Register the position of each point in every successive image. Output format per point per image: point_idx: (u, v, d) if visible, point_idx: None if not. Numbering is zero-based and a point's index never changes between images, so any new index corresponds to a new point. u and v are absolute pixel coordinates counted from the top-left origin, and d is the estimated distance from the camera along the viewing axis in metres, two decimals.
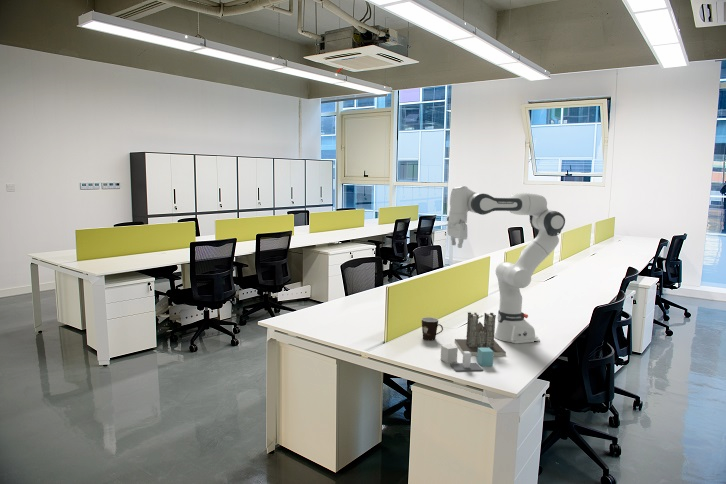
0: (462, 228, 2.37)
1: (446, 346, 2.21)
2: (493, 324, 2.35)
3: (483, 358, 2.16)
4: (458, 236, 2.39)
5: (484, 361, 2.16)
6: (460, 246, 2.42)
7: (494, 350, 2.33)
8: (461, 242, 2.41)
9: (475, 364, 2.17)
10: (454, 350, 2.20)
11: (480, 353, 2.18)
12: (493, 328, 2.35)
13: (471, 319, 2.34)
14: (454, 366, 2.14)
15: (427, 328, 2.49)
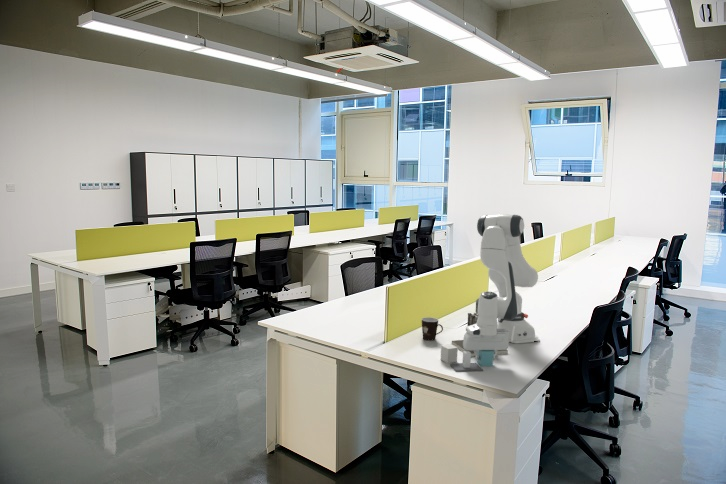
0: None
1: (446, 346, 2.21)
2: None
3: (483, 358, 2.16)
4: (502, 347, 2.18)
5: (484, 361, 2.16)
6: None
7: None
8: None
9: (475, 364, 2.17)
10: (454, 350, 2.20)
11: (480, 353, 2.18)
12: None
13: (474, 320, 2.33)
14: (454, 366, 2.14)
15: (427, 328, 2.49)
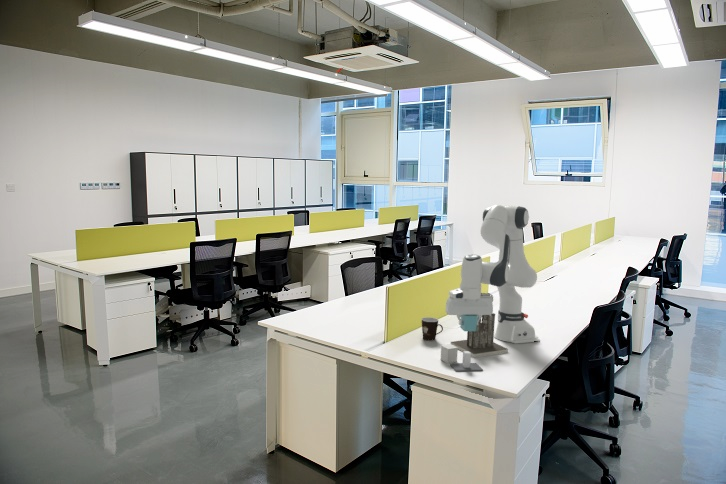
0: None
1: (446, 346, 2.21)
2: (493, 323, 2.38)
3: (466, 323, 2.09)
4: (486, 312, 2.10)
5: (467, 326, 2.09)
6: None
7: (497, 348, 2.35)
8: None
9: (475, 364, 2.17)
10: (454, 350, 2.20)
11: (463, 318, 2.10)
12: (493, 327, 2.38)
13: None
14: (454, 366, 2.14)
15: (427, 328, 2.49)
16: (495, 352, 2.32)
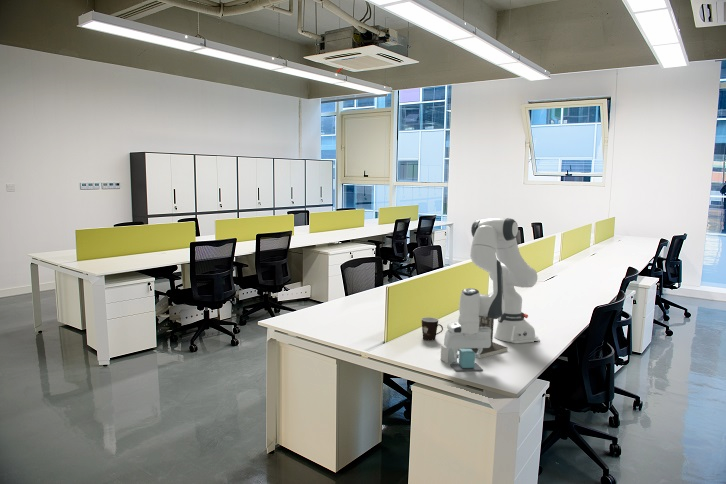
0: None
1: None
2: (492, 322, 2.39)
3: (464, 360, 2.11)
4: (485, 345, 2.12)
5: (465, 363, 2.11)
6: None
7: (497, 347, 2.37)
8: None
9: (475, 364, 2.17)
10: None
11: (461, 355, 2.12)
12: (492, 326, 2.39)
13: None
14: (454, 366, 2.14)
15: (427, 328, 2.49)
16: (496, 352, 2.33)
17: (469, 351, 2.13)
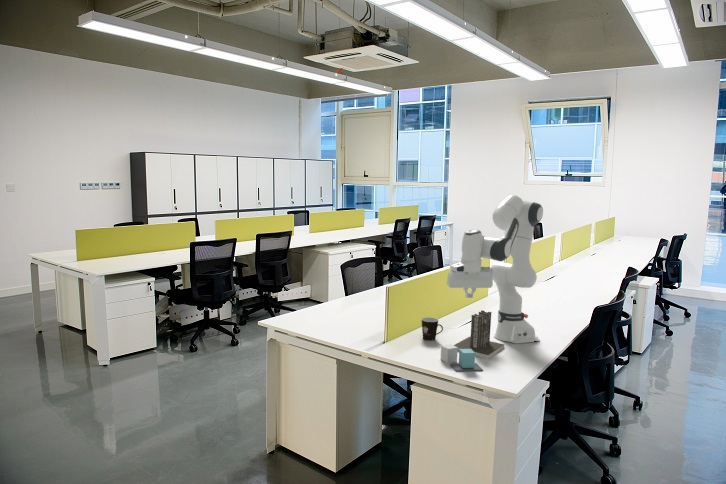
0: None
1: (446, 346, 2.21)
2: (490, 321, 2.41)
3: (464, 360, 2.11)
4: (486, 285, 2.18)
5: (465, 363, 2.11)
6: None
7: (496, 345, 2.40)
8: None
9: (475, 364, 2.17)
10: (454, 350, 2.20)
11: (461, 355, 2.12)
12: (490, 325, 2.41)
13: (481, 321, 2.32)
14: (454, 366, 2.14)
15: (427, 328, 2.49)
16: (498, 350, 2.36)
17: (469, 351, 2.13)
